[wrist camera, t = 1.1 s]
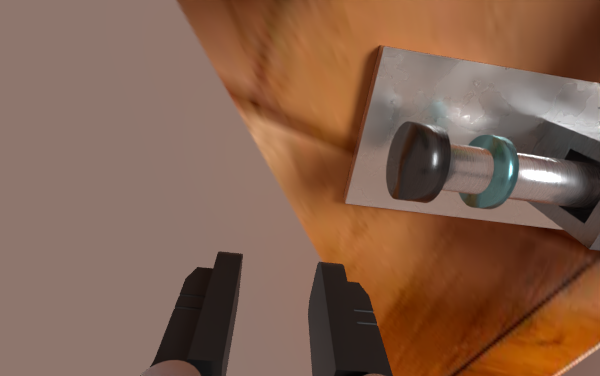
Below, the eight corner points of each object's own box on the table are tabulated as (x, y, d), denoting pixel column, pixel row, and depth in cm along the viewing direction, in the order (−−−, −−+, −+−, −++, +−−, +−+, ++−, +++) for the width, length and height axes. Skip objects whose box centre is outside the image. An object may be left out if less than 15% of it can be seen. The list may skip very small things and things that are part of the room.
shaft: (634, 148, 26) (711, 177, 21) (596, 207, 28) (659, 245, 23) (400, 112, 24) (428, 135, 19) (380, 179, 26) (401, 214, 21)
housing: (677, 96, 28) (853, 131, 19) (592, 227, 34) (699, 300, 25) (379, 45, 25) (429, 59, 17) (343, 196, 31) (365, 266, 22)
